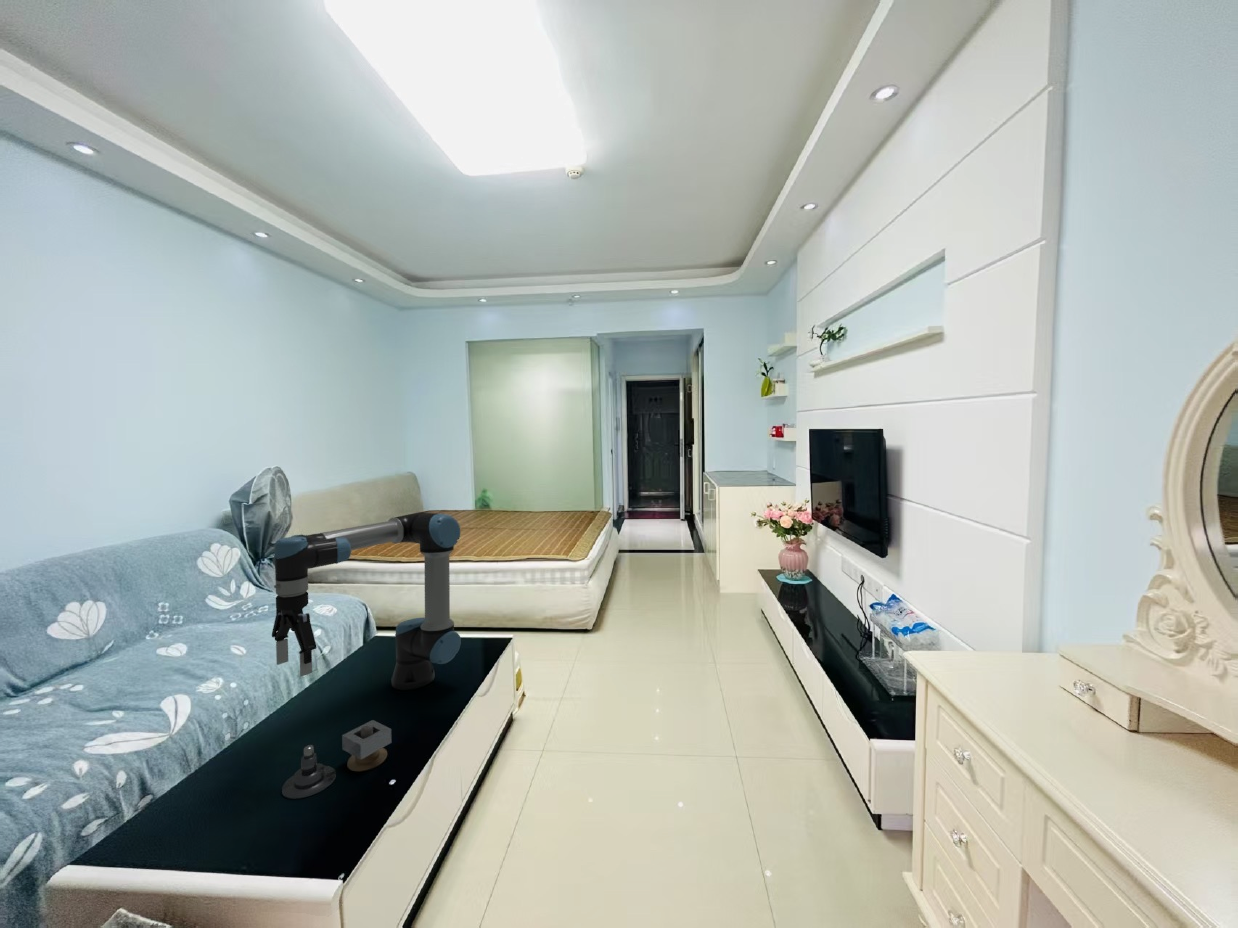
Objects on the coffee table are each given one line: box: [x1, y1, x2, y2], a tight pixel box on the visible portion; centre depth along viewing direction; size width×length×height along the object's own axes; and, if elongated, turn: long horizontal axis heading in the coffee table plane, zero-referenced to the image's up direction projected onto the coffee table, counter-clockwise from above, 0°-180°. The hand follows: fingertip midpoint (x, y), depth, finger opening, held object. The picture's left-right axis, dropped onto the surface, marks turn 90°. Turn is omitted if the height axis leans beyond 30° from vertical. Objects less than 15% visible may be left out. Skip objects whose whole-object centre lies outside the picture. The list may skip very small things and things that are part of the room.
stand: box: [346, 726, 388, 772], centre depth 138 cm, size 10×10×9 cm
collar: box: [341, 719, 392, 760], centre depth 138 cm, size 9×9×4 cm
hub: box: [281, 744, 337, 800], centre depth 128 cm, size 12×12×10 cm
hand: (294, 668), depth 136 cm, fingers open, 13 cm apart
